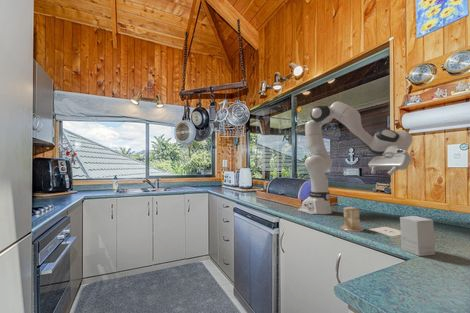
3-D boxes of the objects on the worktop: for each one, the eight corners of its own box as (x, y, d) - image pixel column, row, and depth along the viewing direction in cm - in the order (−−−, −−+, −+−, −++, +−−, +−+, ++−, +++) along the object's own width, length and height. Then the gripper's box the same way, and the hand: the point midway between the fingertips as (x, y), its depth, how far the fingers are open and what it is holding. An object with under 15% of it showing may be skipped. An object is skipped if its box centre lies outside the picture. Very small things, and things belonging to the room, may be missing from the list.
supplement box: (436, 254, 84) (434, 219, 84) (418, 256, 82) (417, 221, 83) (416, 247, 91) (415, 215, 91) (400, 249, 90) (399, 216, 90)
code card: (368, 229, 115) (368, 229, 115) (385, 226, 119) (385, 226, 119) (391, 236, 104) (391, 236, 104) (409, 233, 108) (409, 233, 108)
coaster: (337, 228, 118) (337, 227, 118) (347, 225, 124) (347, 224, 124) (357, 233, 110) (357, 232, 110) (367, 229, 116) (367, 228, 116)
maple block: (344, 227, 118) (343, 207, 119) (351, 226, 120) (351, 206, 120) (352, 229, 114) (351, 209, 114) (359, 228, 115) (359, 208, 116)
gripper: (372, 152, 135) (360, 169, 132) (409, 150, 116) (396, 170, 112) (378, 159, 137) (366, 176, 133) (415, 158, 117) (403, 178, 114)
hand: (380, 173), depth 123 cm, fingers open, 8 cm apart
